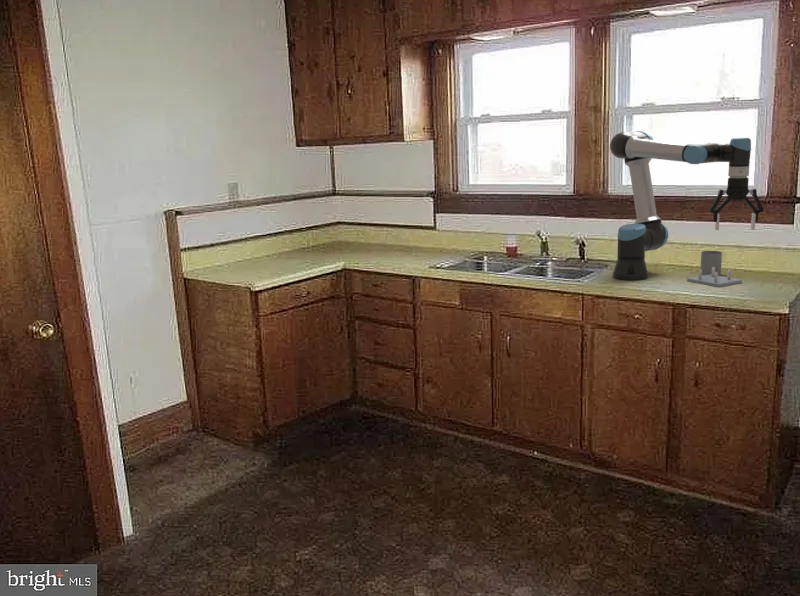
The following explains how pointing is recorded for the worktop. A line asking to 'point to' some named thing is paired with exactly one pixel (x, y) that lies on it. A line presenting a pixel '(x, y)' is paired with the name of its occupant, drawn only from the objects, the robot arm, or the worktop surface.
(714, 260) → the cup
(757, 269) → the worktop surface
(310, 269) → the worktop surface
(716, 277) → the grey pegged base plate
